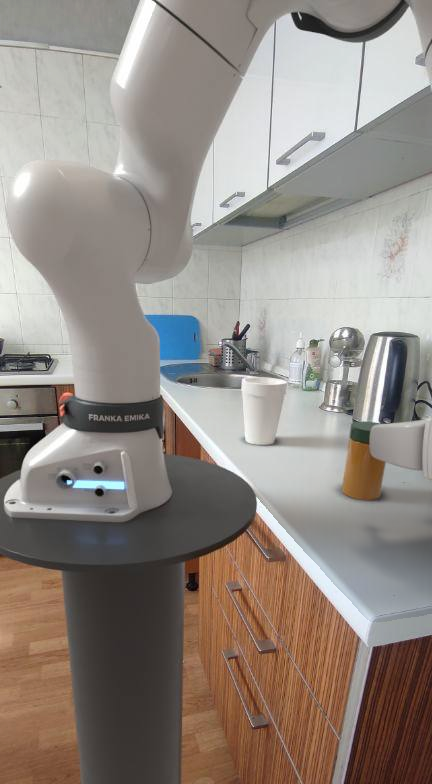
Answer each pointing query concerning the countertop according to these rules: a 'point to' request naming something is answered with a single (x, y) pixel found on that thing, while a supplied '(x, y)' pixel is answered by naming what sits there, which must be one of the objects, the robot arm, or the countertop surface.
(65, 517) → the robot arm
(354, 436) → the lid
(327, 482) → the countertop surface
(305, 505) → the countertop surface
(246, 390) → the foam cup
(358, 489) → the jar
